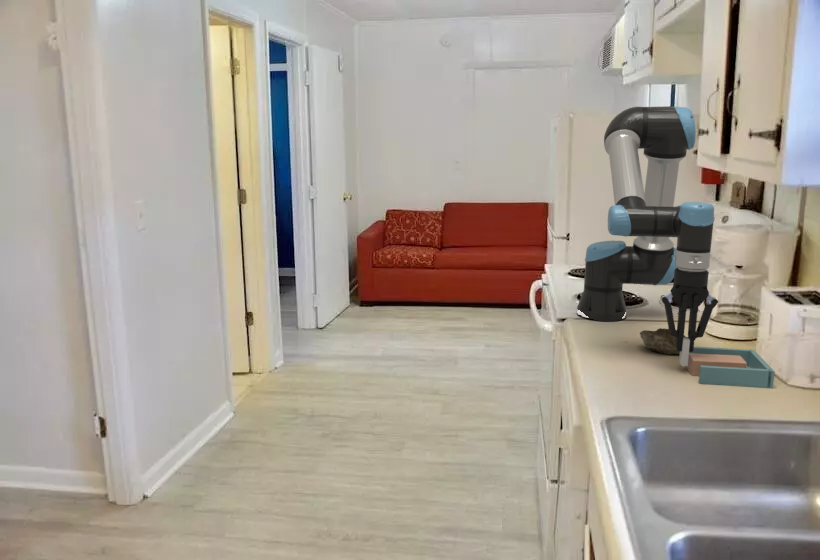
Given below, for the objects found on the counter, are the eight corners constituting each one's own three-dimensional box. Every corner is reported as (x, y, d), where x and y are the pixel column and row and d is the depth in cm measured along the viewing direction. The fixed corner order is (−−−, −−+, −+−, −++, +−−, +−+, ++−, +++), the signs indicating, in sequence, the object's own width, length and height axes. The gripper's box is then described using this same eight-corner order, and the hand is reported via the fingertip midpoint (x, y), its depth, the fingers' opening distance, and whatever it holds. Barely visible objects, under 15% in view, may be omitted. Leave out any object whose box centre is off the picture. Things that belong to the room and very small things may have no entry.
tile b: (687, 368, 177) (688, 353, 176) (712, 370, 176) (714, 354, 175) (692, 376, 171) (693, 360, 171) (718, 378, 170) (720, 362, 170)
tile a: (712, 369, 176) (714, 354, 176) (738, 371, 175) (740, 355, 175) (718, 378, 171) (720, 361, 170) (745, 379, 170) (747, 363, 169)
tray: (685, 361, 182) (687, 346, 181) (752, 365, 179) (754, 349, 178) (699, 383, 166) (701, 367, 165) (772, 388, 164) (774, 371, 163)
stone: (645, 349, 185) (642, 321, 189) (637, 360, 192) (634, 332, 196) (694, 351, 185) (690, 322, 188) (684, 362, 192) (680, 334, 195)
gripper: (665, 270, 167) (657, 367, 172) (725, 272, 165) (715, 370, 170) (660, 264, 174) (652, 357, 179) (716, 266, 172) (707, 360, 177)
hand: (683, 364), depth 174 cm, fingers closed
